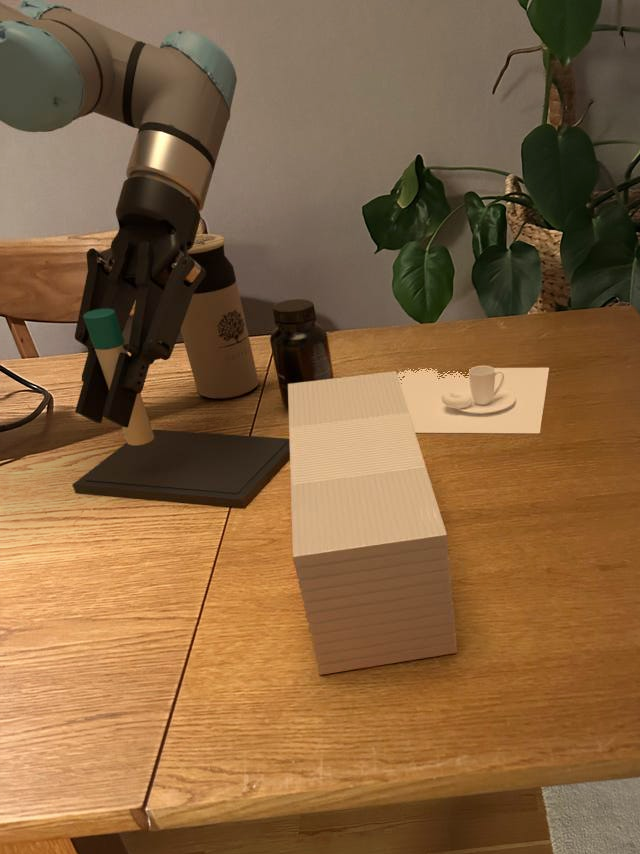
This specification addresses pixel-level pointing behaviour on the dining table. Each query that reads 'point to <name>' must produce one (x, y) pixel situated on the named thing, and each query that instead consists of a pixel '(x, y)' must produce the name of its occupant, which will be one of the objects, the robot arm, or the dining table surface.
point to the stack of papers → (366, 526)
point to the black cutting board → (189, 468)
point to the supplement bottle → (299, 345)
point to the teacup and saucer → (476, 400)
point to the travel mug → (217, 326)
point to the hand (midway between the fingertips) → (101, 419)
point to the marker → (108, 349)
